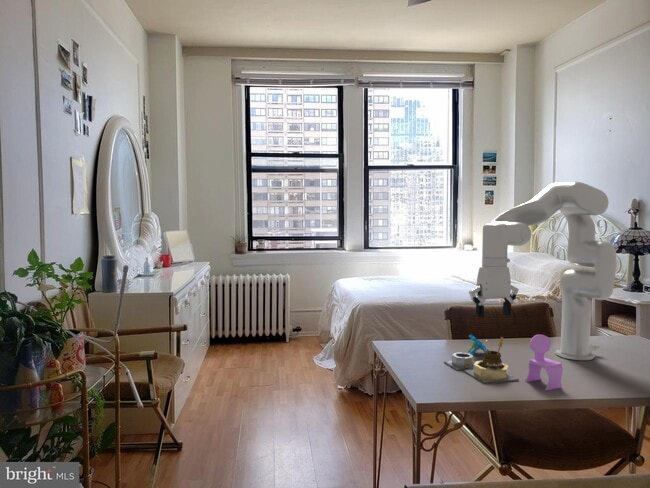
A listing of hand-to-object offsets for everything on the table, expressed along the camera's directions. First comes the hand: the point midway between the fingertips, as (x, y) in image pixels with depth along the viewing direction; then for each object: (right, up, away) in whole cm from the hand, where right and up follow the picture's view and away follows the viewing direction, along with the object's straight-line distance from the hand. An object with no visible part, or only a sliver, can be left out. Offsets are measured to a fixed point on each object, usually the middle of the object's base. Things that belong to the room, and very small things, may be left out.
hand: (493, 316), depth 164 cm
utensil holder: (0, -19, +1) cm, 19 cm away
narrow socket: (-7, -19, +12) cm, 23 cm away
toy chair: (+13, -20, -6) cm, 25 cm away
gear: (+3, -18, +25) cm, 31 cm away
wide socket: (-1, -19, +1) cm, 19 cm away
